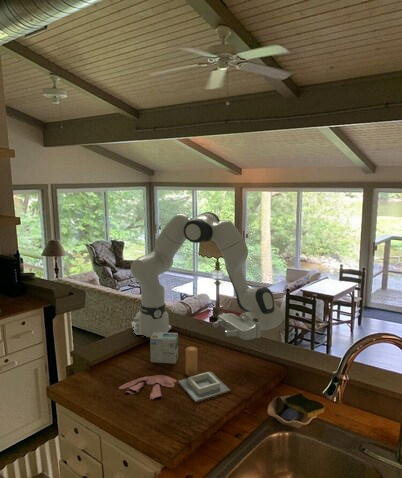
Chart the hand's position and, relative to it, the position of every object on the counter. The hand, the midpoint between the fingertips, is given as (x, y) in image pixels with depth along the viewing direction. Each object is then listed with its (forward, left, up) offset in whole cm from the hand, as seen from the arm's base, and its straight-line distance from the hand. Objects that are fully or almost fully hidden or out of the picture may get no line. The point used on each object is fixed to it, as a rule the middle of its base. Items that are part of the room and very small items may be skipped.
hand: (219, 329), depth 151 cm
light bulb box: (-15, -17, -16) cm, 28 cm away
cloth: (+2, -32, -17) cm, 36 cm away
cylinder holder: (+11, -13, -16) cm, 23 cm away
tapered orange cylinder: (0, -12, -16) cm, 20 cm away
